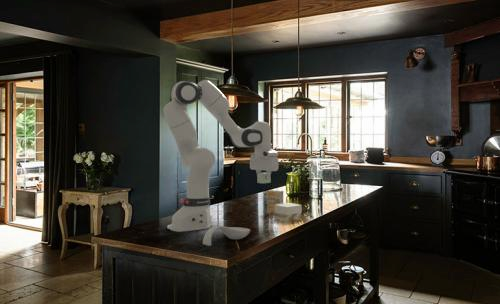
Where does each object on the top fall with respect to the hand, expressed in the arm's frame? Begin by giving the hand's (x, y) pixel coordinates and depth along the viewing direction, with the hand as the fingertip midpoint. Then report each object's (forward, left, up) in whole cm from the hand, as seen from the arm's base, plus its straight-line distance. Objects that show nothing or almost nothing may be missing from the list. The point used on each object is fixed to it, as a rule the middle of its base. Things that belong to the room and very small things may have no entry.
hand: (263, 178), depth 218 cm
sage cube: (0, 0, -2) cm, 2 cm away
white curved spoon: (-38, -23, -22) cm, 50 cm away
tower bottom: (+11, -6, -22) cm, 25 cm away
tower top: (+11, -7, -18) cm, 22 cm away
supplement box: (+16, +10, -22) cm, 29 cm away
